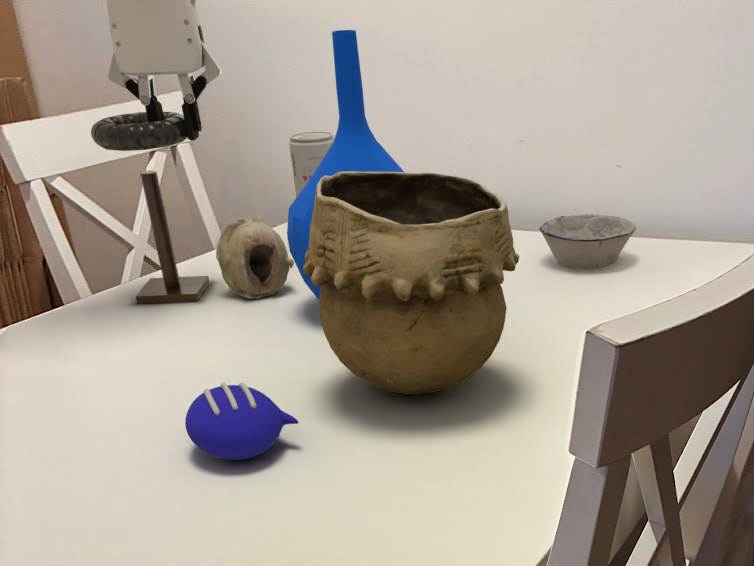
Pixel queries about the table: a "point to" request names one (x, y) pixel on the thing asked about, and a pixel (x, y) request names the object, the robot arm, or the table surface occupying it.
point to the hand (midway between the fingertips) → (177, 137)
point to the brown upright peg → (165, 255)
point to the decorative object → (235, 422)
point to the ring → (139, 131)
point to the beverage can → (307, 155)
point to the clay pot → (410, 275)
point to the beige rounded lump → (252, 258)
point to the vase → (339, 147)
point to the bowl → (587, 239)
